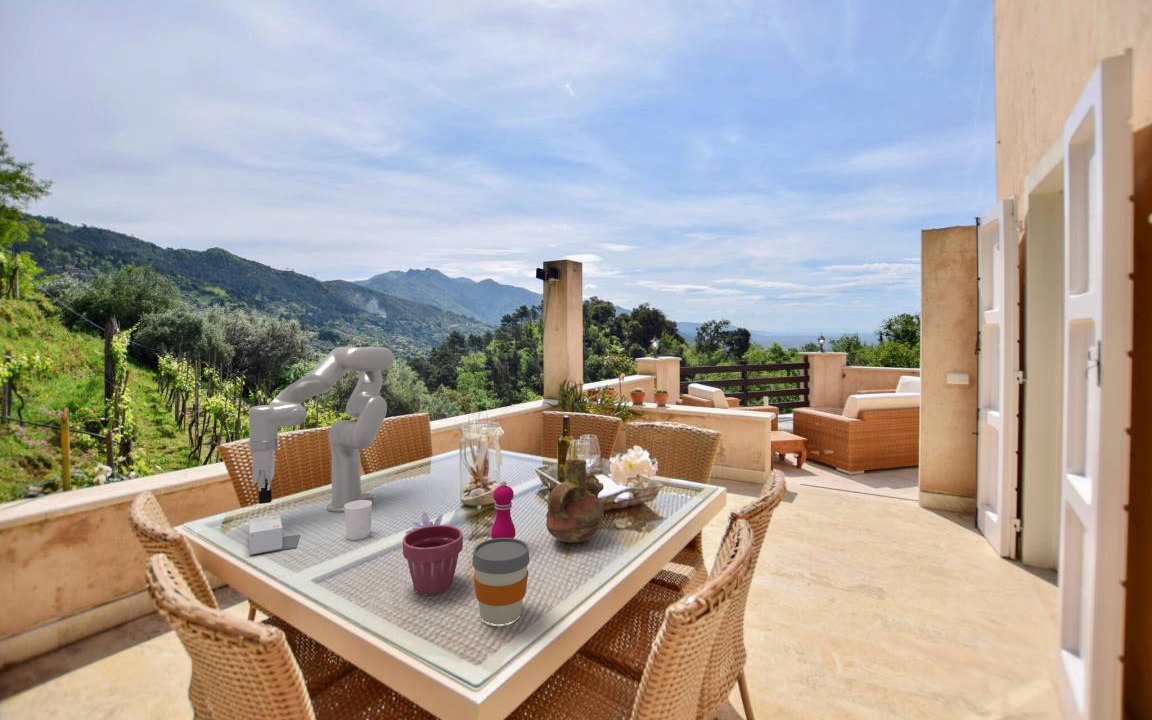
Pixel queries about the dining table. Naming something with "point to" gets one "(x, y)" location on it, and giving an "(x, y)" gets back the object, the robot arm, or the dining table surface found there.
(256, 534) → the small box
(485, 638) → the dining table surface
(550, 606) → the dining table surface
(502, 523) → the pepper mill
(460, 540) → the plant pot
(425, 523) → the water lily
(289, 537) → the mat
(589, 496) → the ceramic vessel
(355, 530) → the white cup
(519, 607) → the reusable coffee cup
